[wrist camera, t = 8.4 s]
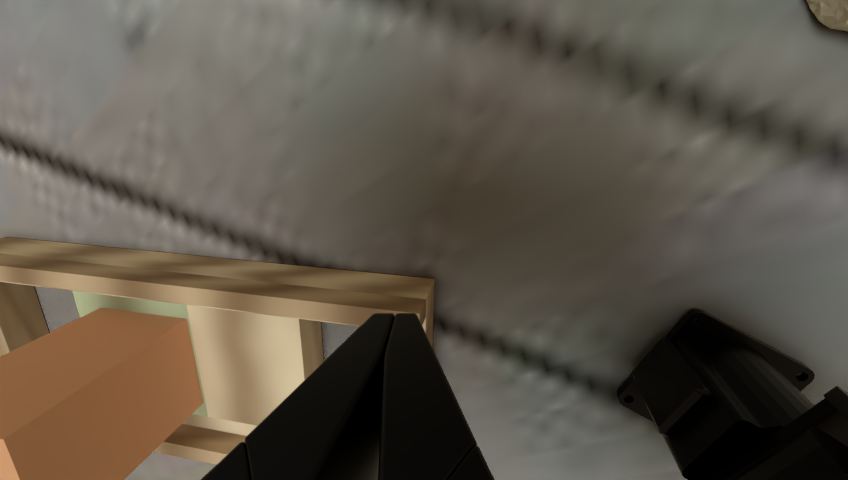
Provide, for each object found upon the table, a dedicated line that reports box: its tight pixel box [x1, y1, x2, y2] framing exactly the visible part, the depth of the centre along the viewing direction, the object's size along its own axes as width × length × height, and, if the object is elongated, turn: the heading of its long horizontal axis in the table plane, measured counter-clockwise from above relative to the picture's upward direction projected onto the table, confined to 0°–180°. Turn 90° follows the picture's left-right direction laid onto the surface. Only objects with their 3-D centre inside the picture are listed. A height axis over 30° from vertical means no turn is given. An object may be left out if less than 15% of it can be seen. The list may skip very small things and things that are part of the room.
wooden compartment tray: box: [0, 237, 435, 464], centre depth 25 cm, size 30×12×4 cm, turn 89°
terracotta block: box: [0, 307, 203, 480], centre depth 20 cm, size 6×6×9 cm
